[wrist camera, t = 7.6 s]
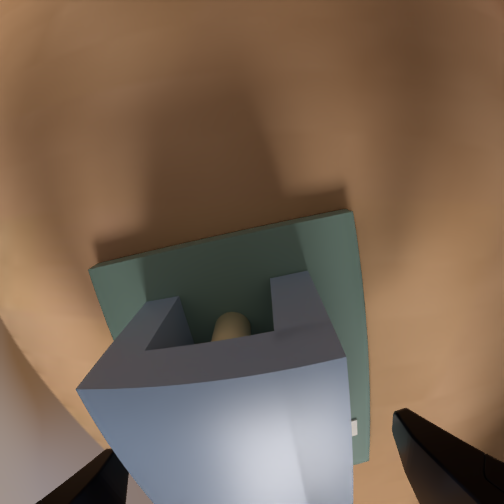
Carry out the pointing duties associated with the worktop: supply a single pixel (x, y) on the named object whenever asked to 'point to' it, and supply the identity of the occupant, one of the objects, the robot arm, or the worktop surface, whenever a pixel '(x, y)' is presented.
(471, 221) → the worktop surface
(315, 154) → the worktop surface
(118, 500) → the robot arm
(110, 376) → the housing
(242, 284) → the header board
